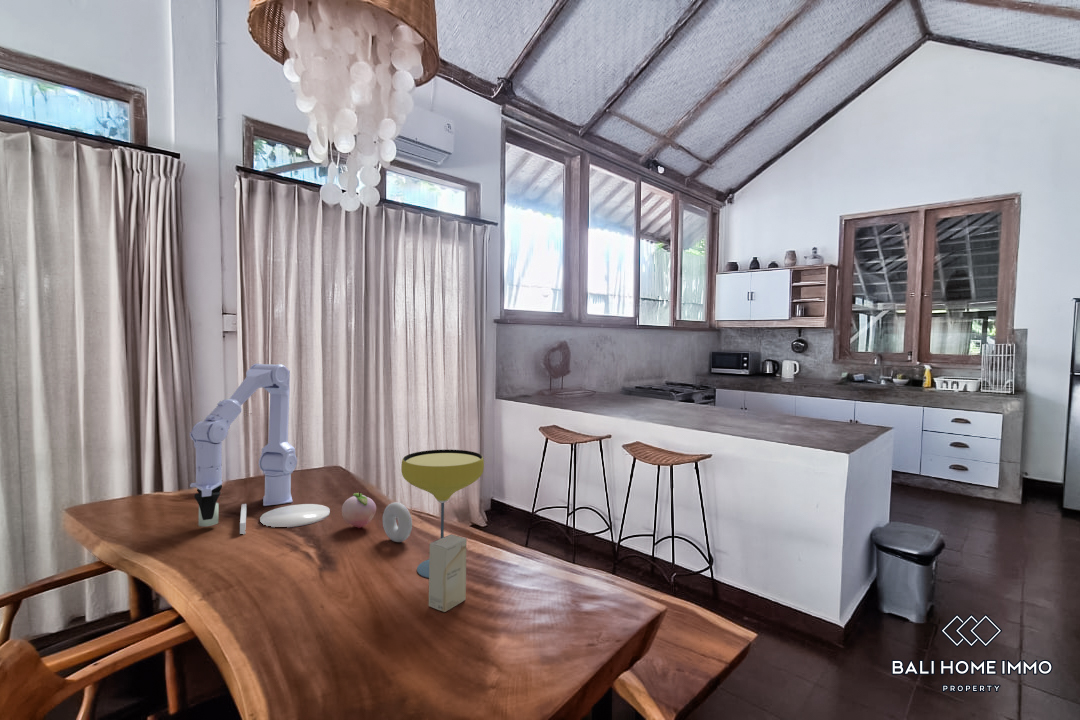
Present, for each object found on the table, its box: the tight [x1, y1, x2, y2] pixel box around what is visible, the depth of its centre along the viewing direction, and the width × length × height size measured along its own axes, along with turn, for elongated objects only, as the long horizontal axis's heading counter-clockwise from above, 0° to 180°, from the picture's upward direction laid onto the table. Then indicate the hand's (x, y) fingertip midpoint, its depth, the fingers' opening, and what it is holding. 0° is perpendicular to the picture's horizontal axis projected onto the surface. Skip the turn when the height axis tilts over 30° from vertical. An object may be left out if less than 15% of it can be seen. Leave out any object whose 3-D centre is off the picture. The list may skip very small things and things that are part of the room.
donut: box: [382, 501, 413, 543], centre depth 124 cm, size 10×3×10 cm, turn 53°
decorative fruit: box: [341, 491, 377, 529], centre depth 132 cm, size 9×8×10 cm
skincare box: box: [428, 533, 468, 613], centre depth 94 cm, size 6×4×12 cm
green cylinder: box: [198, 502, 220, 527], centre depth 130 cm, size 4×4×5 cm
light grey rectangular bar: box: [239, 503, 247, 535], centre depth 134 cm, size 18×1×3 cm, turn 30°
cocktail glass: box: [400, 449, 485, 579], centre depth 109 cm, size 18×18×25 cm
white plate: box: [259, 503, 331, 528], centre depth 141 cm, size 18×18×1 cm
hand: (208, 516), depth 130 cm, fingers closed on green cylinder, 4 cm apart
